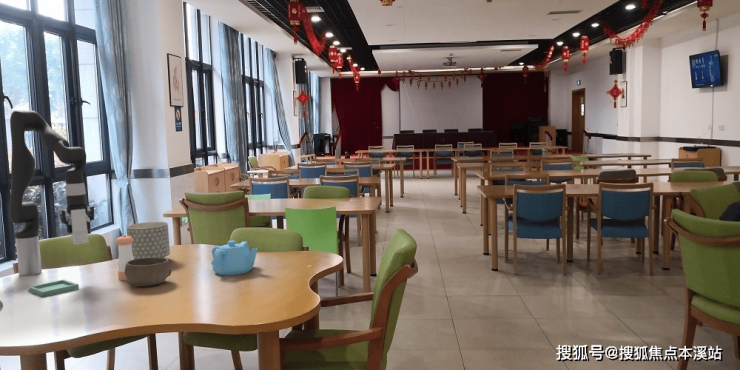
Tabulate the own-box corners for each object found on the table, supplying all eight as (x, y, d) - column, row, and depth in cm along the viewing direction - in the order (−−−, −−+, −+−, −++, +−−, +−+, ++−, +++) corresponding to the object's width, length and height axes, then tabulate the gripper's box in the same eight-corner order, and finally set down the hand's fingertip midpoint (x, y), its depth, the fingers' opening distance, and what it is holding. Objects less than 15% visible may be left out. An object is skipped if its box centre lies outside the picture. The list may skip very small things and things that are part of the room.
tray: (29, 291, 249) (28, 286, 249) (64, 283, 260) (63, 279, 260) (42, 297, 240) (42, 292, 240) (78, 288, 251) (78, 284, 250)
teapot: (214, 278, 260) (212, 246, 259) (209, 269, 278) (207, 239, 277) (259, 273, 267) (257, 242, 265) (251, 264, 285) (250, 235, 283)
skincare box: (89, 243, 262) (86, 209, 261) (73, 245, 259) (70, 210, 258) (85, 240, 269) (83, 207, 268) (70, 242, 266) (68, 208, 264)
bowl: (179, 279, 260) (177, 256, 259) (151, 291, 243) (150, 266, 242) (146, 277, 266) (144, 255, 265) (116, 288, 249) (114, 264, 248)
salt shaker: (140, 276, 268) (136, 233, 266) (127, 280, 262) (123, 236, 260) (127, 275, 271) (124, 232, 269) (114, 279, 265) (111, 235, 263)
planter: (155, 255, 311) (152, 220, 309) (178, 259, 300) (175, 223, 298) (121, 263, 296) (118, 226, 294) (144, 267, 285) (141, 229, 283)
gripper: (88, 191, 270) (91, 228, 272) (54, 195, 259) (58, 233, 261) (96, 192, 265) (99, 230, 267) (62, 196, 254) (65, 235, 256)
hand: (78, 231), depth 264 cm, fingers closed on skincare box, 6 cm apart
